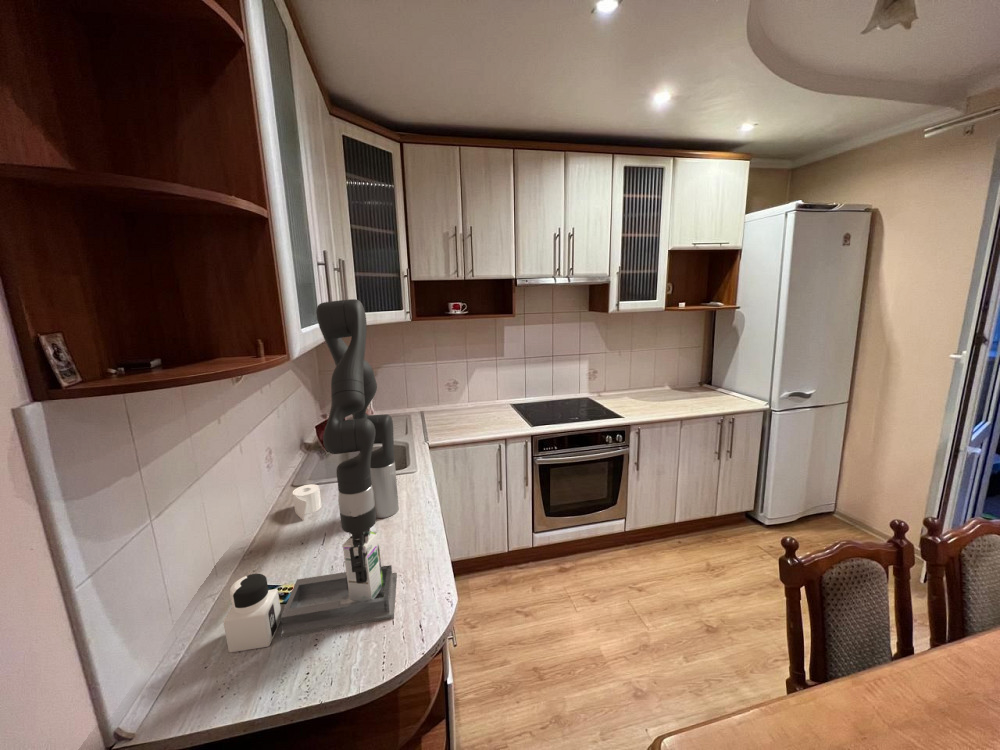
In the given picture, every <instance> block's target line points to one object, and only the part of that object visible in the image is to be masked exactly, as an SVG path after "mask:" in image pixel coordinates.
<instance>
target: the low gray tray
mask: <svg viewBox="0 0 1000 750" xmlns="http://www.w3.org/2000/svg"><path fill="white" fill-rule="evenodd" d="M381 568H382V576H383V587H382V588H381V590H380V591H379V593H378V594H377V596H376V597H375V598H374V599H370V600H364V601H354V600H350V597H349V590H348V582H347V575H346V571H344V572H338V573H332V574H331V573H330V574H325V575H324V574H323V575H318V576H312V577H305V578H299V579H296V581H295V584H294V586H293V588H292V591H291V593H290V595H289V597H288V600H287V603H286V605H285V607H284V610H283V611H282V613H281V614H282V616H281V622H280V623H281V628H282V631H281V638H283V639H284V638H288V637H294V636H298V635H304V634H310V633H311V634H312V633H317V632H320V631H321V632H322V631H326V630H333V629H338V628H339V629H340V628H345V627H350V626H355V625H357V626H358V625H362V624H367V623H372V622H379V621H384V620H385V621H386V620H390V619H394V618H395V611H396V610H395V609H396V595H397V579H398V574H397V573H398V572H393V569H392V568H393V567H392V565H385V566H384V565H383V566H381Z"/></svg>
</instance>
